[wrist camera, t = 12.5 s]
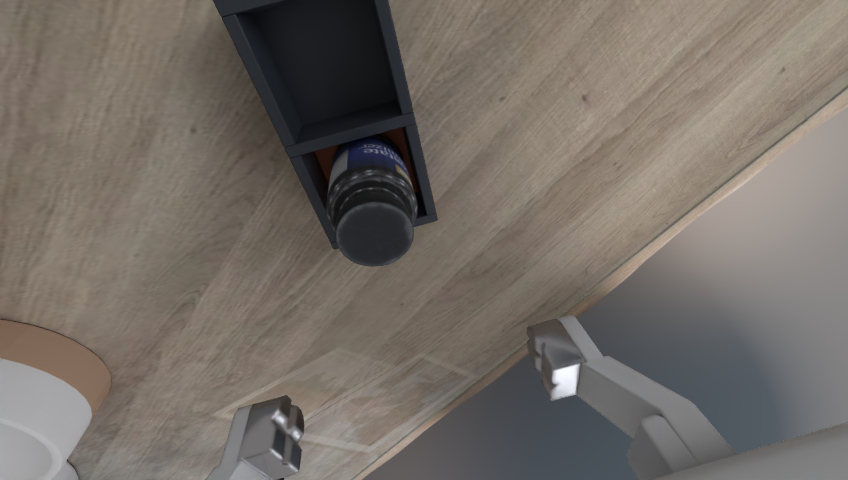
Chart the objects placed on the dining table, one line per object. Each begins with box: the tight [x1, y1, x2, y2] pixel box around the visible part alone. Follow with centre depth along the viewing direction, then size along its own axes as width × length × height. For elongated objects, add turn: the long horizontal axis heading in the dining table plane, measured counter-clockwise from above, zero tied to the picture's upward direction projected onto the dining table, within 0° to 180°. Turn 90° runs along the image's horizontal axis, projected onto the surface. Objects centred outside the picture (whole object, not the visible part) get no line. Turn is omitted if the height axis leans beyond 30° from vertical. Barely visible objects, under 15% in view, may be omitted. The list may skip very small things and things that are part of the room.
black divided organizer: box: [213, 0, 438, 250], centre depth 25 cm, size 17×9×5 cm, turn 12°
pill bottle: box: [326, 134, 418, 267], centre depth 24 cm, size 6×6×11 cm
